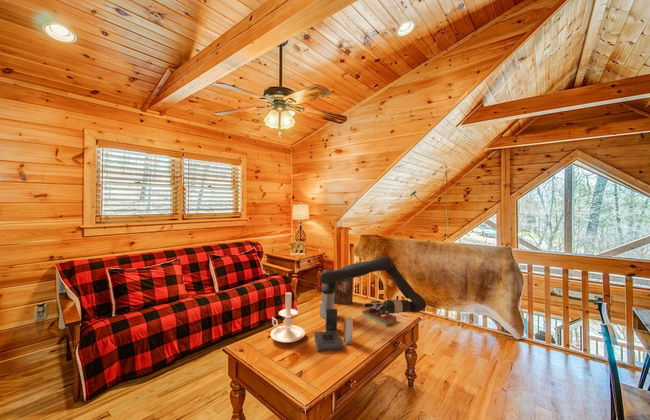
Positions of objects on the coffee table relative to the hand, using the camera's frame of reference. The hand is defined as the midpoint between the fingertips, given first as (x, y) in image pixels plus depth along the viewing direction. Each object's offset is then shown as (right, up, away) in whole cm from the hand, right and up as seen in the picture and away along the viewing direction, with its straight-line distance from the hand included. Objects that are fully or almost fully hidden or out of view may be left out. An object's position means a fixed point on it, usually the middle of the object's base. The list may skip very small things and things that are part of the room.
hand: (367, 308), depth 161 cm
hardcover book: (+13, -19, +32) cm, 39 cm away
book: (-11, -17, +60) cm, 63 cm away
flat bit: (-21, -19, +13) cm, 31 cm away
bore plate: (-23, -19, -4) cm, 31 cm away
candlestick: (-49, -19, +4) cm, 52 cm away
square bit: (-12, -20, -1) cm, 23 cm away
